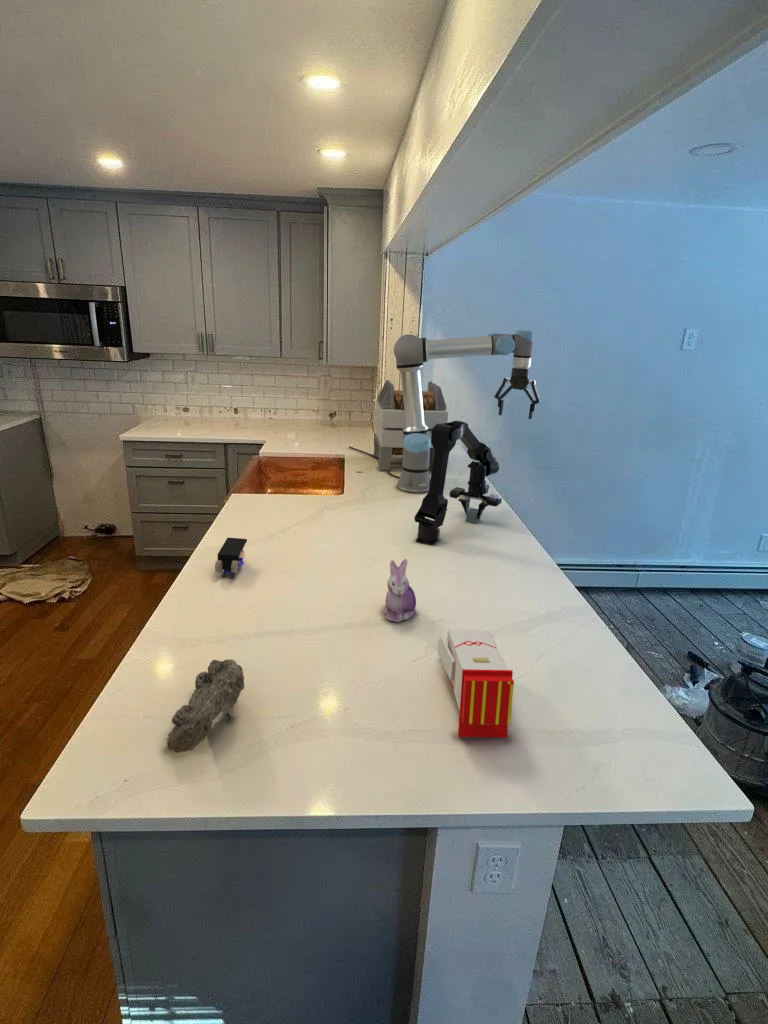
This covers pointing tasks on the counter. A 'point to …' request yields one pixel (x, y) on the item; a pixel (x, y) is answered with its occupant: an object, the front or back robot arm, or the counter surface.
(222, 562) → the figurine character
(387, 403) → the transformer
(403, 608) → the figurine
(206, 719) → the fossil
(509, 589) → the counter surface
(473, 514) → the block
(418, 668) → the counter surface
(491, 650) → the toy
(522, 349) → the back robot arm
